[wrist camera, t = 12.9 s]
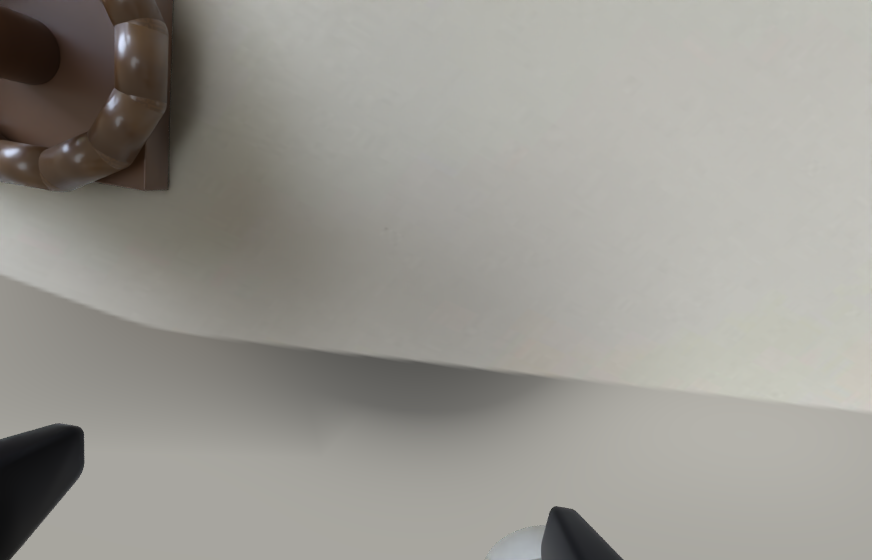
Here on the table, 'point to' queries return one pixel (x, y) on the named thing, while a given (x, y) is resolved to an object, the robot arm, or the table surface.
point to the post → (70, 80)
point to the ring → (105, 110)
